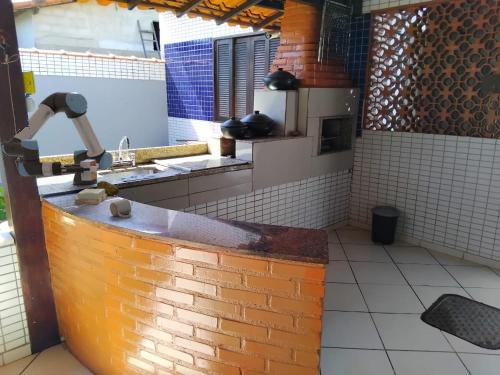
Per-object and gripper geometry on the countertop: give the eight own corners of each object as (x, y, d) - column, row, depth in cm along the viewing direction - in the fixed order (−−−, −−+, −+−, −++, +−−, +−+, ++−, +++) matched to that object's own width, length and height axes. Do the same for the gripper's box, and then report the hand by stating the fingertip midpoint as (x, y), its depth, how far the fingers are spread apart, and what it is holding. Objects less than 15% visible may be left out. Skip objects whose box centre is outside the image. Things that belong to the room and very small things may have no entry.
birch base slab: (84, 198, 212) (84, 193, 211) (107, 198, 213) (106, 193, 212) (74, 204, 199) (74, 199, 199) (98, 204, 200) (98, 199, 199)
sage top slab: (85, 193, 211) (85, 188, 210) (105, 194, 211) (104, 189, 211) (78, 198, 200) (77, 193, 199) (98, 198, 201) (98, 193, 200)
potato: (109, 197, 213) (108, 184, 211) (95, 194, 219) (93, 181, 217) (120, 194, 220) (120, 181, 218) (106, 191, 226) (105, 179, 225)
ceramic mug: (109, 215, 181) (108, 200, 179) (124, 211, 187) (123, 197, 185) (120, 220, 174) (119, 204, 172) (135, 216, 180) (134, 201, 178)
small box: (91, 180, 199) (89, 161, 197) (81, 180, 199) (79, 161, 197) (97, 177, 207) (96, 159, 204) (87, 177, 207) (86, 159, 205)
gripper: (57, 171, 208) (100, 170, 214) (48, 179, 187) (95, 177, 193) (56, 158, 206) (99, 157, 212) (47, 164, 186) (94, 163, 192)
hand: (97, 167), depth 203 cm, fingers closed on small box, 9 cm apart
